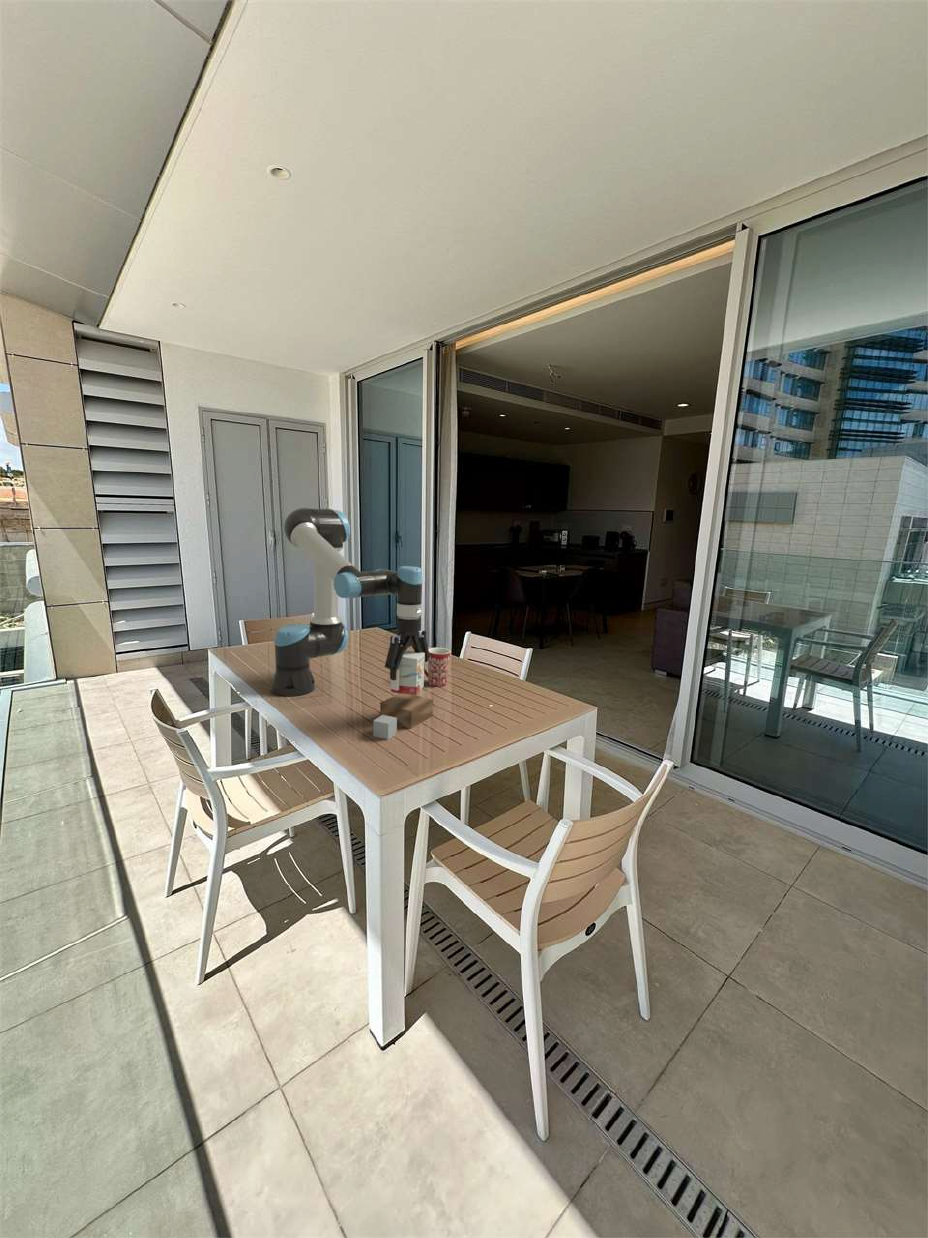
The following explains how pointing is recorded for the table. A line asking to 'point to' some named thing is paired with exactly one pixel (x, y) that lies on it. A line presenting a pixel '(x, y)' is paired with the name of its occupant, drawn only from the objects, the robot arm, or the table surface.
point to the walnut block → (407, 709)
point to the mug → (438, 666)
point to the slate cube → (385, 727)
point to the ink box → (411, 673)
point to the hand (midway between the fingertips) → (407, 685)
